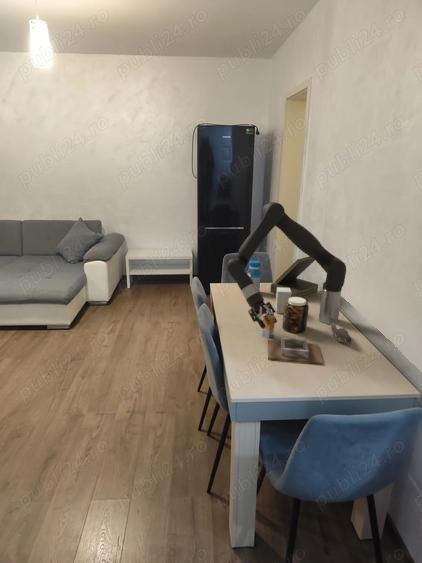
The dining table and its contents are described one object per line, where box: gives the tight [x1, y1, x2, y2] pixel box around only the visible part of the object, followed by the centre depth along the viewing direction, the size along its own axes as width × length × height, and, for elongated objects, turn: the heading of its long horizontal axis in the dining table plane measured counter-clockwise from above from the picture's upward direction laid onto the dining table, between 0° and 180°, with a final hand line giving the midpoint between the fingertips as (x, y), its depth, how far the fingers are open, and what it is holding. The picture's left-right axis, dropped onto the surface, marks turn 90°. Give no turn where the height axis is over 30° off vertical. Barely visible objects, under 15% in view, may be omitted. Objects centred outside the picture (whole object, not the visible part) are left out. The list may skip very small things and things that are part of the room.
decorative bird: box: [327, 317, 353, 346], centre depth 173 cm, size 6×25×5 cm, turn 6°
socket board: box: [267, 337, 324, 366], centre depth 157 cm, size 22×16×4 cm
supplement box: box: [274, 287, 292, 314], centre depth 199 cm, size 7×7×13 cm
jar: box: [282, 297, 310, 334], centre depth 179 cm, size 12×12×15 cm
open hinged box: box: [269, 256, 319, 299], centre depth 226 cm, size 23×20×25 cm
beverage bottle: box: [246, 259, 262, 291], centre depth 226 cm, size 8×8×20 cm
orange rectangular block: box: [261, 313, 276, 339], centre depth 171 cm, size 5×4×10 cm
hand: (269, 325), depth 170 cm, fingers open, 8 cm apart
